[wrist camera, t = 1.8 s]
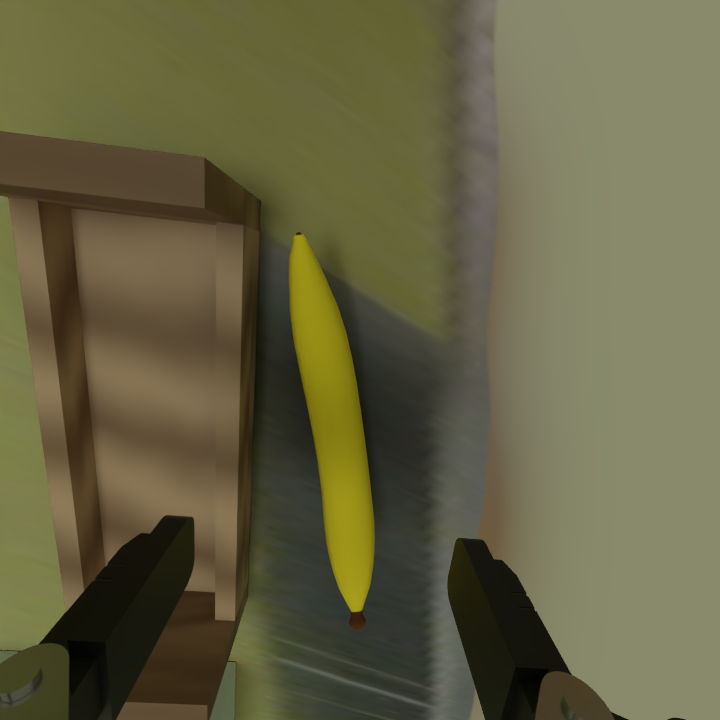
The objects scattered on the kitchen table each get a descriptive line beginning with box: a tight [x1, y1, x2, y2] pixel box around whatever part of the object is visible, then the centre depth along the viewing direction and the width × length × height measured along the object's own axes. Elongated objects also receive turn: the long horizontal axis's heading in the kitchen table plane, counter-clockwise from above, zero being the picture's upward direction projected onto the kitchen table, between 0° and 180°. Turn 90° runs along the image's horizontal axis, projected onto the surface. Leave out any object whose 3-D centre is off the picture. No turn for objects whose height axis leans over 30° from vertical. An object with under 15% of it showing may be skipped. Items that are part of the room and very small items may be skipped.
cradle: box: [0, 131, 261, 720], centre depth 17 cm, size 26×10×7 cm, turn 174°
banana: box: [289, 232, 375, 630], centre depth 18 cm, size 3×19×6 cm, turn 7°
